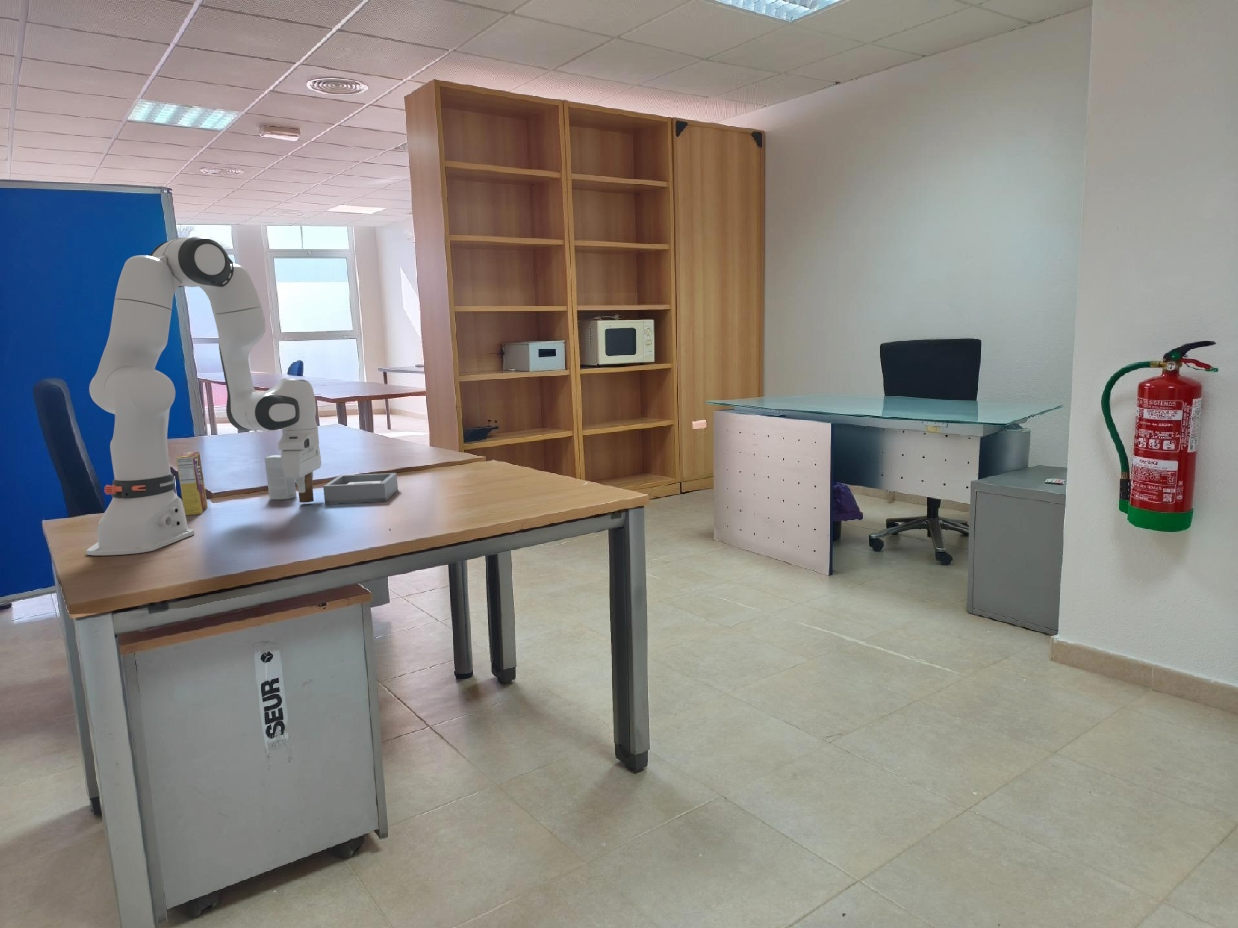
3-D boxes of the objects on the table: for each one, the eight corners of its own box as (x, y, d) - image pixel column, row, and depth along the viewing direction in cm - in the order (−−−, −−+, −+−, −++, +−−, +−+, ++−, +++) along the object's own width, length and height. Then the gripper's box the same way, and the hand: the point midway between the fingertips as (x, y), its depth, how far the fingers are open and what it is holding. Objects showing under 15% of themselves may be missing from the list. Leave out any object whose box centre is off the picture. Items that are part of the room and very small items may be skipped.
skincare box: (297, 496, 224) (292, 454, 222) (289, 499, 220) (284, 457, 218) (276, 496, 225) (272, 454, 223) (268, 499, 221) (264, 457, 219)
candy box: (190, 508, 212) (183, 452, 210) (208, 507, 213) (201, 451, 211) (182, 515, 204) (175, 457, 201) (201, 514, 205) (194, 456, 202)
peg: (311, 502, 211) (308, 474, 210) (297, 502, 211) (295, 475, 210) (315, 499, 215) (313, 472, 214) (301, 500, 215) (299, 472, 213)
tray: (385, 501, 213) (384, 483, 212) (324, 504, 212) (323, 486, 211) (397, 489, 228) (396, 472, 228) (341, 492, 227) (339, 475, 227)
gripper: (301, 435, 220) (305, 484, 222) (275, 444, 200) (280, 498, 202) (324, 434, 221) (328, 483, 223) (300, 443, 201) (305, 497, 203)
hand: (305, 490), depth 212 cm, fingers closed on peg, 4 cm apart
